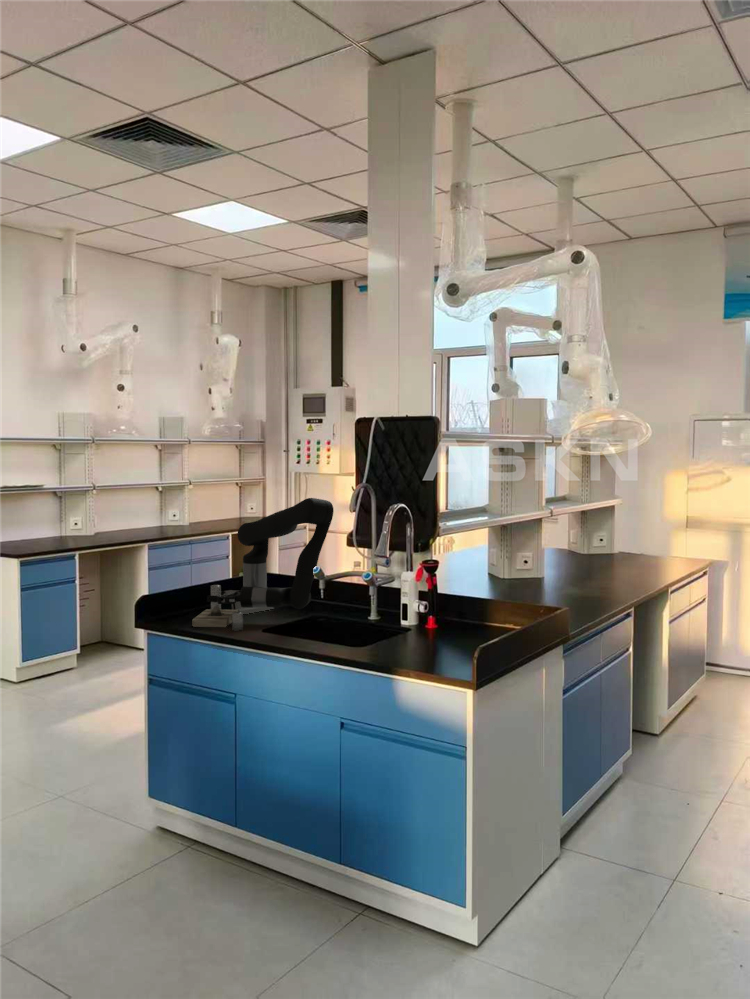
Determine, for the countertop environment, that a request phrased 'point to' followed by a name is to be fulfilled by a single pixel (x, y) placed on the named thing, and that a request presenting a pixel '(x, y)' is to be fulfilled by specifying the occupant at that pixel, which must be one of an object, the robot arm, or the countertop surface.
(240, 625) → the short pin
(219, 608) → the long pin
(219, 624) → the hole plate
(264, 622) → the countertop surface
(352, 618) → the countertop surface
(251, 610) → the hinge
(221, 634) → the countertop surface
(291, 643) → the countertop surface
